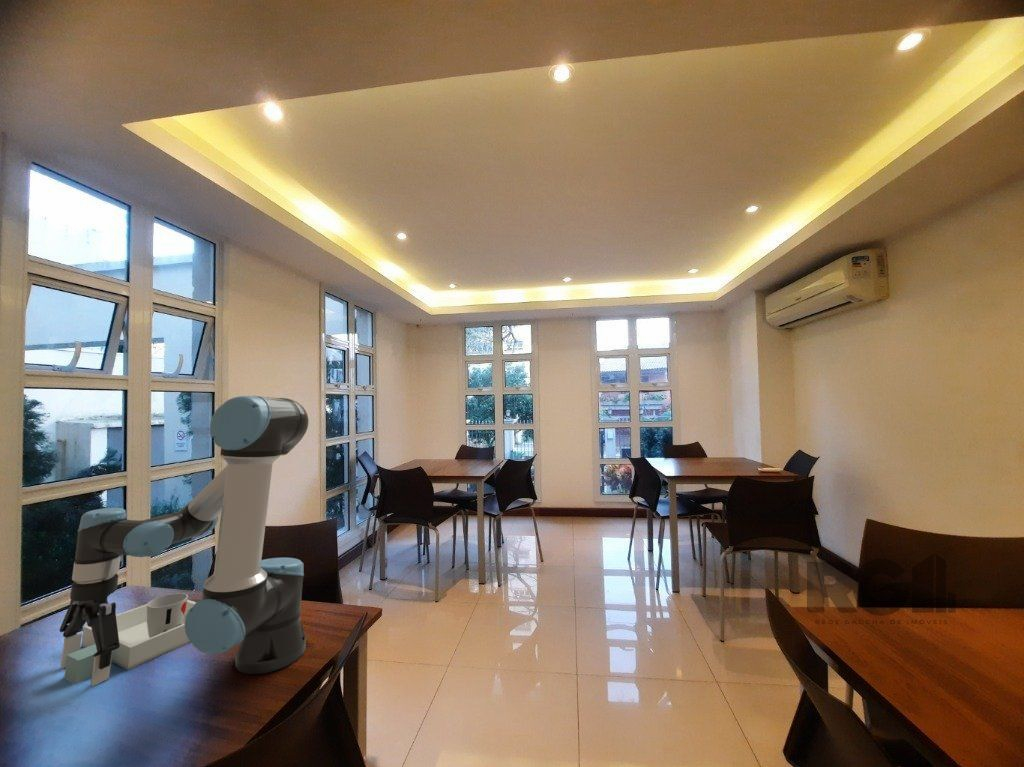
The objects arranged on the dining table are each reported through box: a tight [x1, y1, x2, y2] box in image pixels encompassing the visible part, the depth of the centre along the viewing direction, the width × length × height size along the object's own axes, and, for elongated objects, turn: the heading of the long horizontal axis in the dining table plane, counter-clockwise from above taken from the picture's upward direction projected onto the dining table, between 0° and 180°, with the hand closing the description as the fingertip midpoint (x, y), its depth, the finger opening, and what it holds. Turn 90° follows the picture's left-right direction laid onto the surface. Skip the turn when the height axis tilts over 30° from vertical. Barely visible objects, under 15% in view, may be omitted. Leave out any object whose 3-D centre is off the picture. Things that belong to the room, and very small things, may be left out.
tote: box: [80, 599, 196, 671], centre depth 105 cm, size 22×20×5 cm
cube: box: [63, 644, 97, 685], centre depth 90 cm, size 5×5×5 cm
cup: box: [147, 592, 189, 638], centre depth 103 cm, size 8×8×10 cm
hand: (84, 673), depth 89 cm, fingers open, 13 cm apart
